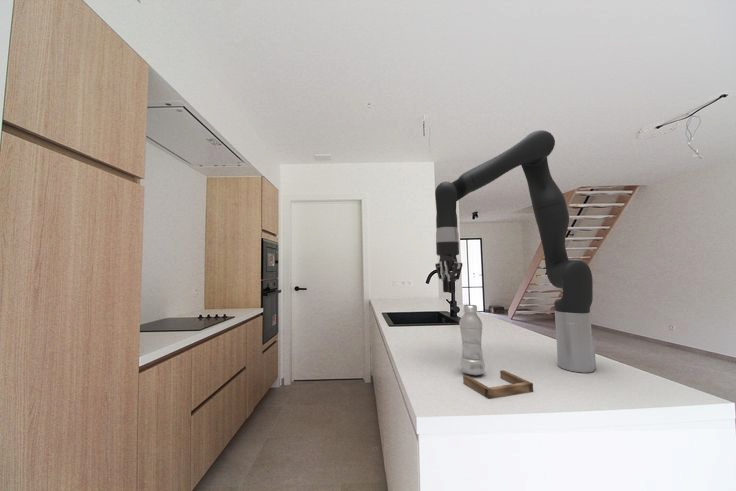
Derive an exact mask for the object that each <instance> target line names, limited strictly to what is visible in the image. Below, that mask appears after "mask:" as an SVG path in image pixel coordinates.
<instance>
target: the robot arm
mask: <svg viewBox="0 0 736 491" xmlns="http://www.w3.org/2000/svg"><path fill="white" fill-rule="evenodd" d="M555 140H556V139H555V137H554V136H553V134H552V133H551V132H549V131H547V130H541V129H540V130H535V131H532V132H530V133H529V134H527V135H526V136H525V137H524V138H523V139H522V140H520V141H519V142H517V143H516V144H514V145H513V146H511V147H510V148H509V149H507V150H505V151H503V152H502V153H500V154H497V155H496V156H494V157H492V158H490V159H488V160H487V161H485V162H483V163H481V164H479V165H477V166H475V167H472V168H471V169H468V171H465V172H464V173H463V174H461V175H460V176H459V177H458V178H457V179H455V180H454V181H452V182H450V181H442V182H440V183H439V184H438V185H437V186H436V188H435V192H434V196H435V207H436V218H435V219H436V220H435V221H436V222H435V226H436V229H435V230H436V232H435V245H436V247H435V249H436V251H435V252H436V253H435V254H436V256H439V262H438V263H435V264H434V265H435V268H436V272H437V277H438V279H439V280H441V282H442V292H443V293H448V294H455V293H456V282H457V280H459V279H460V276H461V273H462V268H463V262H459V261H458V258H457V256H459V255H460V240H459V239H460V237H459V229H458V228H459V227H458V214H457V202H458V201H460V200H461V199H463V198H464V197H466V196H467V195H469V194H471V193H473V192H475V191H477V190H479V189H481V188H483V187H485V186H487V185H488V184H490V183H492V182H494V181H495V180H497V179H499V178H500V177H501V176H503V175H505V174H506V173H509V172H510V171H512V170H514V169H515V168H518V167H519V166H521V169H522V170H523V174H524V176H525V179H526V182H527V185H528V186H527V187H528V192H529V197H530V200H531V205H532V210H533V214H534V218H535V222H536V224H537V228H538V232H539V237H540V242H541V245H542V250H543V256H544V257H543V258H544V264H545V270H546V272H545V273H546V276H547V279H548V280H549V283H550V284H551V285H552V286H553V287H555V288H557V289H561V290H562V295H561V297H560V299H557V300H555V302H554V319H555V320H554V321H555V323H554V324H555V336H556V354H557V355H556V356H557V357H556V358H557V359H556V360H557V366H558V367H559V368H561V369H563V370H567V371H571V372H577V373H593V372H594V371H595V370H596V369H597V360H596V348H595V337H594V336H592V335H593V330H592V320H591V306H592V304H593V301H594V300H593V295H594V293H593V283H594V281H593V273H592V270H591V268H590V266H589V265H588V264H587V263H586V262H585V261H582V260H580V259H569V256H568V254H567V249H566V248H567V247H566V238H567V237H566V236H567V234H568V233H567V232H568V228H569V223H570V214H569V209H568V205H567V202H566V199H565V198H566V197H564V194H563V192H562V190H561V189H560V187H559V186H558V184H557V183H556V182H555V181H554V179H553V177H552V173H551V171H550V167H549V161H548V157H549V156H550V155H551V154H552V152H553V150H554V148H555V145H556V141H555Z"/></svg>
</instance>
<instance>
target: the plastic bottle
mask: <svg viewBox="0 0 736 491" xmlns="http://www.w3.org/2000/svg"><path fill="white" fill-rule="evenodd" d="M463 313H464V314H463V315H462V316H461V318H460V319H459V322H458V325H459V329H460V330H459V331H460V336H461V345H462V348H461V359H460V366H461V370H462V372H463V373H464V374H466V375H468V376H469V375H470V376H481V375H483V374H484V373H485V369H486V365H485V361H484V360H485V359H484V356H483V348H482V334H483V321H482V320H481V318H480V317H479V314H477V313H478V305H476V304H475V305H474V304H464V305H463Z"/></svg>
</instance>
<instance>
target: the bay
mask: <svg viewBox="0 0 736 491" xmlns="http://www.w3.org/2000/svg"><path fill="white" fill-rule="evenodd" d="M499 373H500V376H499V377H500V379H502V380H504V381H506V382H508V383H509V384H504V385H497V386H491V387H489V386H487V385H485V384H484V383H481V381H478V380H476V379H474V378H473V377H472V376H469V374H466V375H465V374H464V375H463V376H462V380H463V382H462V384H464V385H465V386H467V387H469V388H471V389H472V390H474V391H475V392H477V393H478V394H480V395H482V396H484V397H485V398H487V399H495V398H501V397H507V396H514V395H519V394H525V393H531V392H534V383H533V382H531V381H529V380H527V379H524V378H522V377H520V376H517V375H516V374H513V373H511V372H509V371H506V370H500V371H499Z"/></svg>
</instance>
